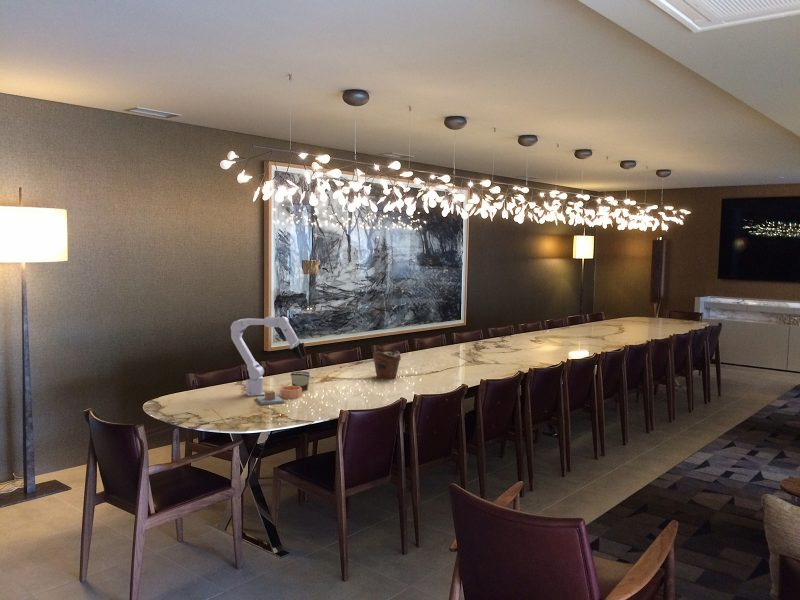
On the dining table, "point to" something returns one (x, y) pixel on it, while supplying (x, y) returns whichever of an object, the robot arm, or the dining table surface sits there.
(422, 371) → the dining table surface
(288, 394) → the bowl
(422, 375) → the dining table surface
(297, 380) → the food container
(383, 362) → the brown pot
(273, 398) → the lid
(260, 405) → the mat
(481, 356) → the dining table surface
